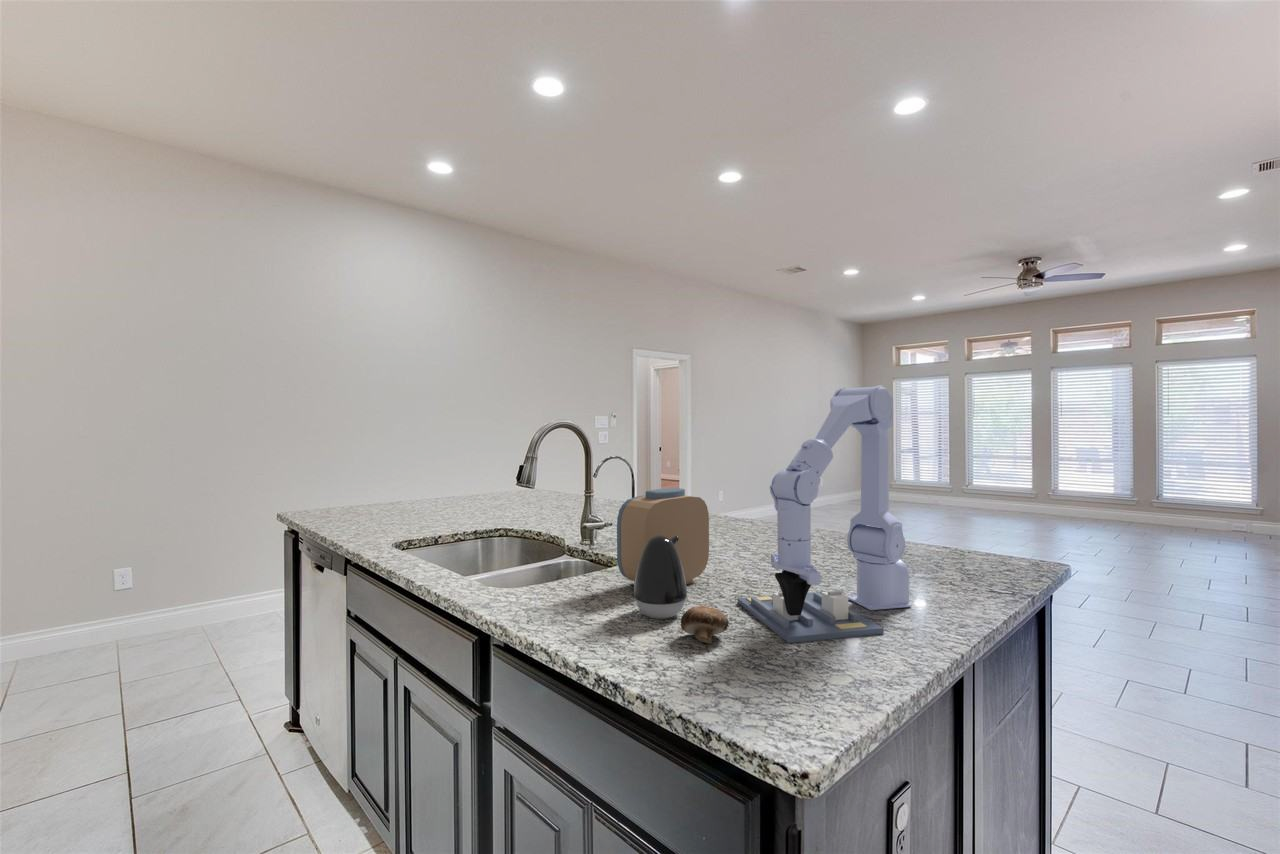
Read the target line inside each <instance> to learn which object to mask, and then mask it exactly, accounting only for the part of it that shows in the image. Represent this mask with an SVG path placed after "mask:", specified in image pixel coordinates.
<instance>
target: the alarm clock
mask: <svg viewBox="0 0 1280 854" xmlns="http://www.w3.org/2000/svg"><path fill="white" fill-rule="evenodd" d="M655 536H665V537H667V538H669V539H670V540H671V539H672V538H673V537H675V536H677V537H678V538H679V540H678V541H677V543H676V544H675V545H674V546H675V547H676V549H677V552H678V554H679V557H680V560H681V563H682V566H683V570H684V575H685V581H686V585H690V584H693V582H694V579H696V578H697V577H699V576H701V575H702V573H703V572H704V571H705V570H706V567H707V565H708V562H709V557H710V556H709V555H710V516H709V509H708V506H707V503H706V502H705V500H704V499H703V498H702V497H699V496H693V495H691V496H690V495H686V490H685V489H684V488H679V487H670V488H669V487H668V488H658V489H657V488H655V489H652V490H651V489H650V490H647V491H645V495H638V496H634V497H632V498H629V499H627V500H626V501H624V502H623V503H622V505H621V507H620V509H619V510H618V514H617V518H616V559H617V566H618V571H619V572H620V574H621V575H622V577H624V578H626V579H627V580H629V581H632V582H633V584H634V585H635V578H636V572H637V568H638V564H639V561H640V558H641V555H642V552H643V550H644V548H645V546H646V544H647V543H648V541H649V540H650V539H651V538H653V537H655ZM634 585H633V586H634Z"/></svg>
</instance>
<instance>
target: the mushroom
mask: <svg viewBox="0 0 1280 854" xmlns="http://www.w3.org/2000/svg"><path fill="white" fill-rule="evenodd" d="M729 623H730V622H729V618H728V617H727V616H726V614H725V613H723V612H722V611H720V610H718V609H716V608H714V607H709V606H705V605H700V606H699V605H697V606H692V607H691V608H689V609H687V610H686V611H685V612H684V613H683V614H682V616H681V620H680V627H681V629H682V631H684V632H685V633H687V634H688V635H689V634H691V635H694V637H695V638H696V639H697V640H698V641H700V642H702V643H705V644H709V645H712V644H713V641H712V640H713V639H712V638H713V636H714V635H718V634H721V633H724V632H725V631H727V629H728V627H729Z"/></svg>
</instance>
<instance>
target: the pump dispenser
mask: <svg viewBox="0 0 1280 854" xmlns="http://www.w3.org/2000/svg"><path fill="white" fill-rule="evenodd" d="M678 540H679V538H678V537H677V536H675V537H673V538H672V539H671V540H670V539H669V538H667V537H665V536H655V537H653V538H651V539H650V540H649V541H648V543H647V544H646V546H645V548H644V550H643V552H642V555H641V558H640V561H639V564H638V568H637V572H636V578H635V585H633V597H634V599H635V602H636V605H637V607H638V609H639V611H640V612H641V613H642V614H643V615H645V616H647V617H648V618H651V619H655V620H666V619H671V618H672V617H675V616H676V615H678V614H679V613H680V612H681V611H682V609H683V607H684V605H685V601H686V599H687V598H688V590H687V589H688V588H687V584H686V581H685V575H684V570H683V566H682V563H681V560H680V557H679V554H678V552H677V549H676V547H675V546H674V545H675V544H676V543H677V541H678Z"/></svg>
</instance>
